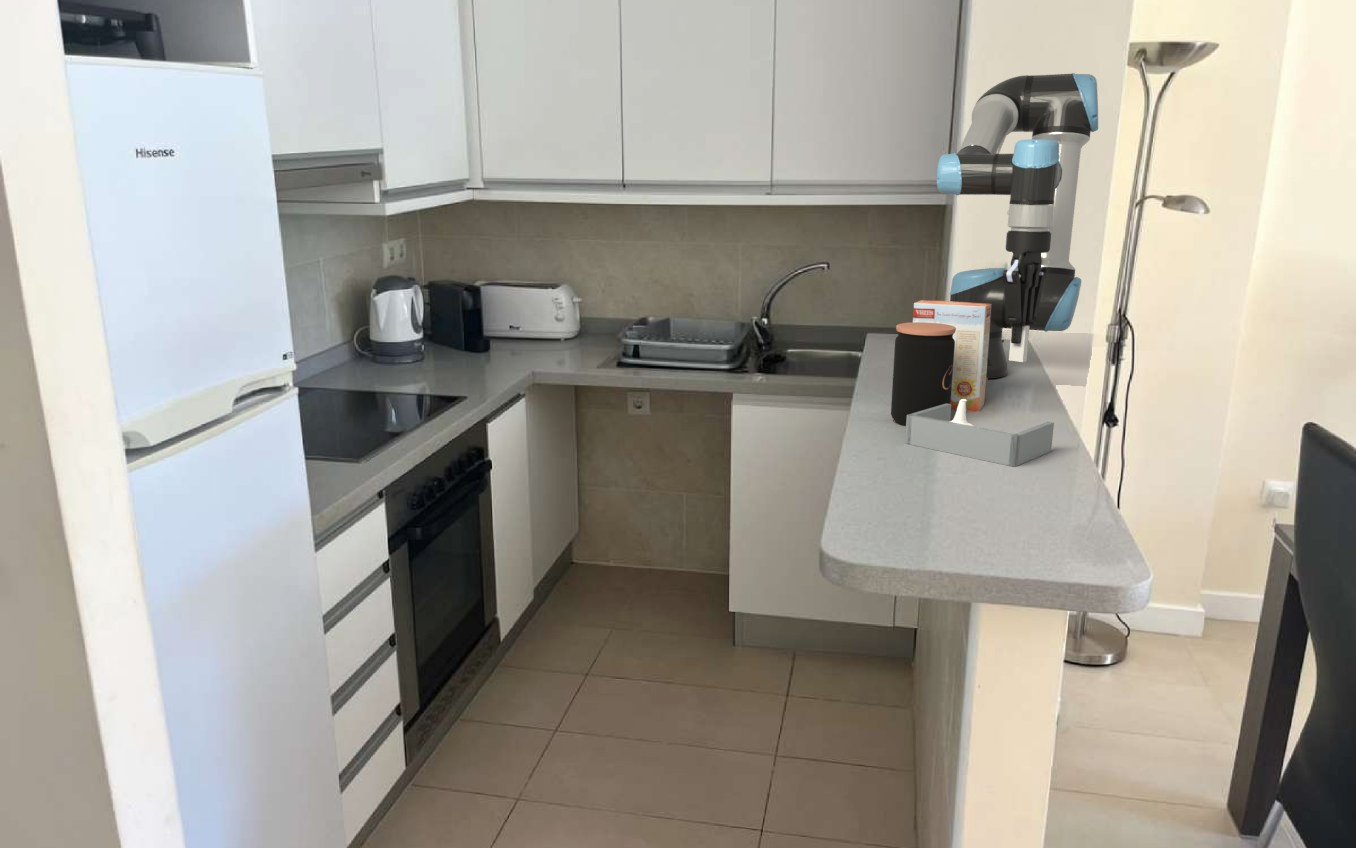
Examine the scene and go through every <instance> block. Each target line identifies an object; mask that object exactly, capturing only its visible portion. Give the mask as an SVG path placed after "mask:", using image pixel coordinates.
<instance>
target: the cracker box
mask: <svg viewBox="0 0 1356 848" xmlns="http://www.w3.org/2000/svg"><path fill="white" fill-rule="evenodd" d="M912 313H913V315H912V323H913V322H925V323H939V324H946V325H951V326H954V327H956V331H955V333H954V334H953V339H954V340H955V349H954V363H953V377H952V390H951V410H957V407H958V405H959V401H960V400H961V399H966V400H967V401H966V411H967V410H969V412H980V411H981V410H982V409H983V407H984V406H985V399H986V398H985V397H986V392H985V388H986V389H987V386H986V374H987V359H988V345H989V332H990V317H991V304H985V303H968V302H953V301H950V300H928V299H927V300H926V299H925V300H924V299H920V300H918V301H915V302H914V303H913V312H912Z"/></svg>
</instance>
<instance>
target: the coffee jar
mask: <svg viewBox="0 0 1356 848" xmlns="http://www.w3.org/2000/svg"><path fill="white" fill-rule="evenodd" d="M895 330H896V332H897V333H898V335H897V336H896V338H895V339H894V354H893V371H892V388H891V389H892V390H891V404H890V407H891V408H890V416H891V417H892V419H893V421H894V423H896V424H897V425H900V426H902V427H906V421H907V415H909V414H912V413H915V412H919V411H922V410H926V409H929V408H932V407H936V406H939V405H943V404H946V403H947V404H951V390H952V377H953V363H954V349H955V340H954V339H953V334H954V333H955V331H956V327H954V326H951V325H946V324H939V323H925V322H913V321H912V322H903V323H898V324H897V325H896V326H895Z"/></svg>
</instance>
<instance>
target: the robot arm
mask: <svg viewBox="0 0 1356 848" xmlns="http://www.w3.org/2000/svg"><path fill="white" fill-rule="evenodd" d="M1098 97H1099V96H1098V81H1097V79H1096V77H1095V76H1094V75H1093V74H1089V73H1076V72H1072V73H1060V74H1059V73H1058V74H1056V73H1055V74H1040V75H1039V74H1037V75H1030V74H1029V75H1028V74H1026V75H1018V76H1015V77H1014V76H1013V77H1011V78H1007V79H1005V80H1004V81H1001V82H999V83H997V84H996V85H994V86H992V87H990V89H988V90H987V91H985V92H984V93H983V94H982V95H981V96H979V98H978V100H977V101H976V103H975V105H974V107H973V109H972V112H971V124H970V126H969V128H968V130H967V132H966V134H965V137H964V138H963V140H962V143H961V144H960V147H959V149H958V151H957V153H956V152H952V153H945V154H942V155H941V156H940V157H939V159H938V162H937V169H936V187H937V190H938V192H939V193H941V194H945V195H946V194H947V195H955V196H960V195H963V196H965V195H966V196H968V195H970V196H972V195H973V196H978V195H981V196H982V195H985V196H986V195H987V196H989V195H990V196H993V195H994V196H995V195H996V196H998V195H999V196H1010V198H1009V199H1010V200H1009V207H1008V210H1007V212H1006V213H1007V216H1008V219H1007V222H1008V223H1007V227H1008V228H1011V229H1010V230H1008V231H1007V232H1006V239H1005V251H1006V252H1008V253H1009V252H1010V253H1012V257H1011V261H1010V268H1009V269H1007V268H1006V267H989V268H979V269H977V268H976V269H970V270H969V269H968V270H964V271H960V272H957V273H956V274H955V275H953V278H952V280H951V288H950V292H949V296H950V297H949V301H953V302H968V303H985V304H991V317H990V332H989V345H988V359H987V374H986V377H987V378H988V379H996V378H999V379H1000V378H1003V377H1005V376H1007V375H1008V368H1009V367H1008V361H1011V362H1019V363H1025V362H1027V361H1028V359H1027V358H1028V348H1029V347H1028V346H1029V338H1030V337H1029V336H1030V331H1040V332H1041V331H1042V332H1045V333H1047V332H1064V331H1066V330H1068V329H1069V328H1070V326H1071V325H1072V322H1073V319H1074V315H1075V312H1076V308H1077V304H1078V301H1079V296H1080V291H1081V286H1082V279H1081V278H1080V277H1078V276H1075V275H1076V268H1075V267H1074V266H1073V265H1072V263H1071V262H1070V255H1071V254H1070V253H1071V244H1072V236H1073V235H1072V234H1073V227H1074V226H1073V225H1074V215H1075V208H1076V207H1075V205H1076V197H1077V189H1078V188H1077V187H1078V178H1079V170H1080V161H1081V151H1082V148H1083V147H1084V146H1085V145H1086V144H1087V143H1088V142H1089V141H1090V139H1091V133H1094V132H1097V131H1098V130H1099V103H1098V102H1099V99H1098ZM1018 132H1019V133H1020V132H1021V133H1022V132H1024V133H1032V136H1031V139H1021V140H1018V141H1017V142H1016V143H1015V145H1014V151H1013V153H1000V152H1001V149H1002V148H1003V145H1004V142H1005V139H1006V138H1007V136H1008V135H1009V134H1011V133H1018ZM1003 329H1011V331H1010V342H1009V350H1008V351H1009V353H1008V354H1009V355H1008V360H1007V358H1006V353H1005V349H1004V346H1003V345H1004V344H1003V341H1002V338H1003Z"/></svg>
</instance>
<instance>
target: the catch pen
mask: <svg viewBox="0 0 1356 848" xmlns="http://www.w3.org/2000/svg"><path fill="white" fill-rule="evenodd" d="M951 412H952V409H951V404H947V403H946V404H943V405H939V406H936V407H932V408H929V409H926V410H922V411H919V412H915V413H912V414H909V415H907V421H906V426H905V437H904V438H905V439H904V440H905V441H904V444H906V445H911V446H916V447H919V448H925V449H930V450H934V451H940V452H943V453H948V454H953V455H957V456H963V457H967V458H972V459H977V460H980V461H986V462H991V463H995V464H1000V465H1004V466H1009V467H1015V468H1016V467H1017V466H1020V465H1022V464H1025V463H1027V462H1030V461H1032V460H1035V459H1037V458H1039V457H1041V456H1044V455H1047V454H1049V453H1052V447H1053V438H1054V437H1053V436H1054V429H1055V422H1053V421H1047V422H1043V423H1040V424H1038V425H1035V426H1032V427H1030V428H1027V429H1025V430H1021V431H1018V432H1017V433H1012V432H1011V433H1010V432H1005V431H1000V430H996V429H990V428H984V427H980V426H974V425H973V426H970V425H964V424H959V423H954V422H949V421H951V415H952V413H951Z"/></svg>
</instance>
